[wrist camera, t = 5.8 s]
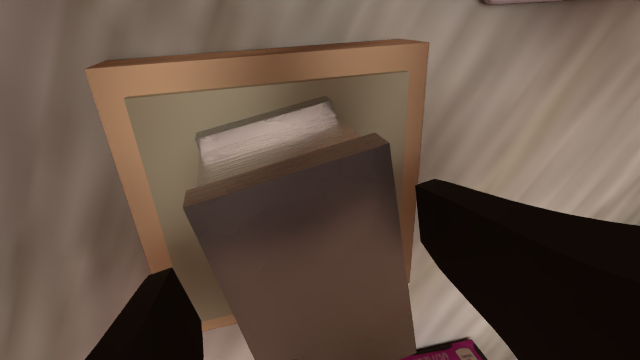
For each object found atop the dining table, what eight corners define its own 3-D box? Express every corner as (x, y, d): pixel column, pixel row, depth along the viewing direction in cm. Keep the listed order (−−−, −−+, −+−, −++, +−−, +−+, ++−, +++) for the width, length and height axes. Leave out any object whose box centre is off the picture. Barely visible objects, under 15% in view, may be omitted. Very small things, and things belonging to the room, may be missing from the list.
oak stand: (400, 38, 13) (434, 42, 11) (389, 255, 17) (412, 287, 15) (105, 60, 11) (80, 70, 9) (177, 301, 15) (171, 344, 13)
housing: (325, 95, 11) (389, 143, 7) (358, 254, 14) (416, 352, 10) (196, 132, 10) (182, 208, 6) (259, 289, 13) (278, 408, 9)
